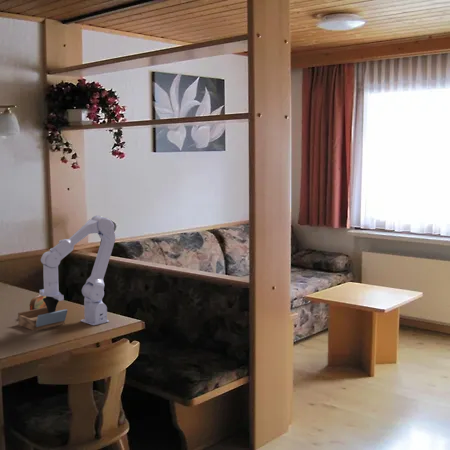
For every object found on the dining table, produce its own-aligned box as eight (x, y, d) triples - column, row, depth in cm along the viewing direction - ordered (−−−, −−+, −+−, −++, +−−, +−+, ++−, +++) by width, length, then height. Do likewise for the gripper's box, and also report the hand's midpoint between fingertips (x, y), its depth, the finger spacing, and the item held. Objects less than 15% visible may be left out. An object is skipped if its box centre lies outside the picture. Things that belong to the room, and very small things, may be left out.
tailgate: (64, 320, 256) (67, 310, 254) (36, 327, 246) (38, 316, 244) (63, 319, 256) (66, 309, 254) (35, 326, 246) (37, 315, 245)
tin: (35, 319, 263) (34, 299, 262) (28, 318, 264) (27, 299, 263) (52, 310, 278) (51, 291, 277) (45, 309, 279) (45, 291, 277)
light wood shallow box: (64, 323, 257) (64, 311, 256) (34, 330, 247) (33, 318, 246) (48, 318, 265) (48, 306, 264) (18, 324, 255) (18, 312, 254)
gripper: (32, 280, 250) (33, 313, 252) (52, 286, 240) (53, 320, 242) (47, 277, 255) (48, 310, 257) (67, 283, 245) (68, 317, 247)
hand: (51, 315), depth 250 cm, fingers closed, pressing on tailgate
